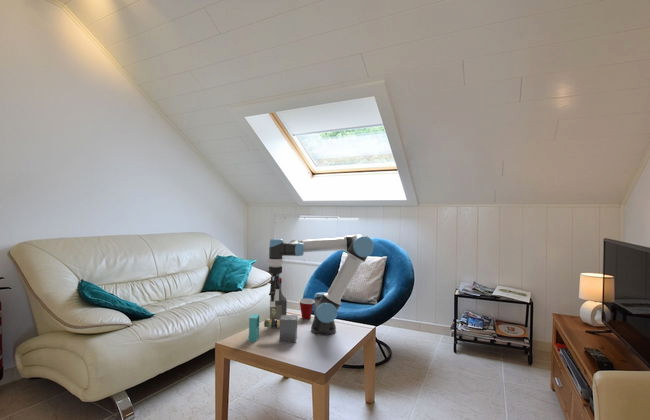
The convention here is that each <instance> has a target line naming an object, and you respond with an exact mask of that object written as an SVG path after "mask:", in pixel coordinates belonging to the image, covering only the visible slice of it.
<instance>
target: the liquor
mask: <svg viewBox="0 0 650 420" xmlns="http://www.w3.org/2000/svg"><path fill="white" fill-rule="evenodd" d="M282 279H283V278H282V277H279V282H280V287H281V288H280V289H279V301H275V307H270V306H269V320H272V319H278V320H280V318H281V316H282V315H287V311H288V310H287V307H288V306H287V305H288V304H287V302H288V301H287V300H288V299H287V298H286V297H285V295H284V294H283V292H282V283H283V280H282ZM276 329H280V327H277V328H276Z"/></svg>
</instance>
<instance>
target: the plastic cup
mask: <svg viewBox="0 0 650 420" xmlns="http://www.w3.org/2000/svg"><path fill="white" fill-rule="evenodd" d="M298 301H299V305H300V306H299V307H300V314H301V319H303V320H309V319H311V316H312V311H313V309H314V308H313V307H314V305H315V299H312V298H299V300H298Z"/></svg>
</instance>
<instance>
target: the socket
mask: <svg viewBox="0 0 650 420" xmlns="http://www.w3.org/2000/svg"><path fill="white" fill-rule="evenodd" d="M259 337H260V313H252V314H251V315H250V316H249V317H248V342H250V343H251V342H253V343H256V342H257V341H258V339H259Z"/></svg>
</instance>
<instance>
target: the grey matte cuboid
mask: <svg viewBox="0 0 650 420" xmlns="http://www.w3.org/2000/svg"><path fill="white" fill-rule="evenodd" d="M278 339H279V340H278V341H279V343H285V344H286V343H288V344H289V343H290V344H291V343H292V344H293V343H294V344H295V343H296V342H297V339H298V315H296V314H295V315H294V314H286V315H282V316H281V318H280V328H279V338H278Z"/></svg>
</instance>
